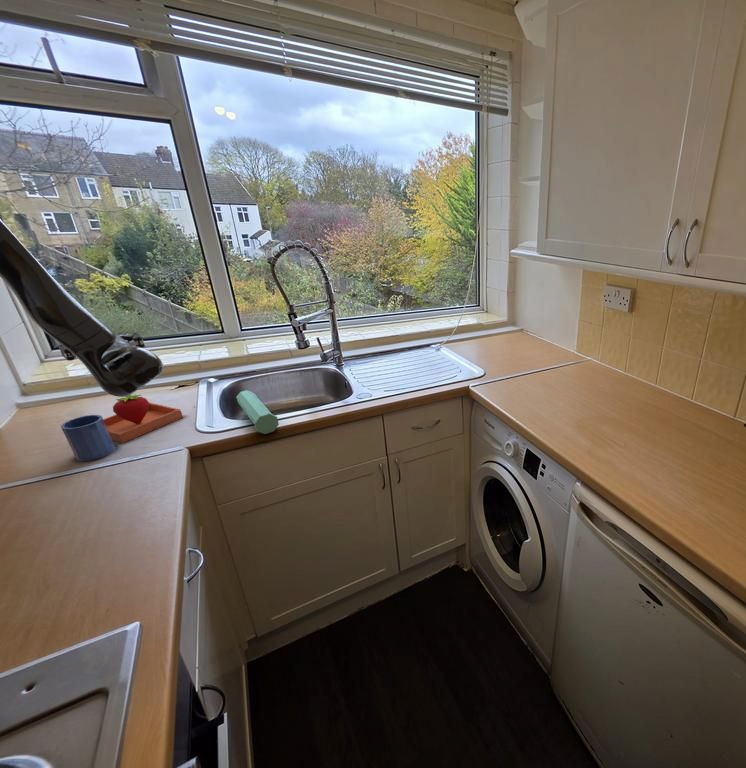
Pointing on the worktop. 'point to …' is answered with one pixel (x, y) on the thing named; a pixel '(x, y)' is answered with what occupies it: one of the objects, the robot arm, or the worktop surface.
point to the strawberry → (131, 408)
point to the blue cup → (88, 437)
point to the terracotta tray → (152, 420)
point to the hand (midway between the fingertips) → (97, 339)
